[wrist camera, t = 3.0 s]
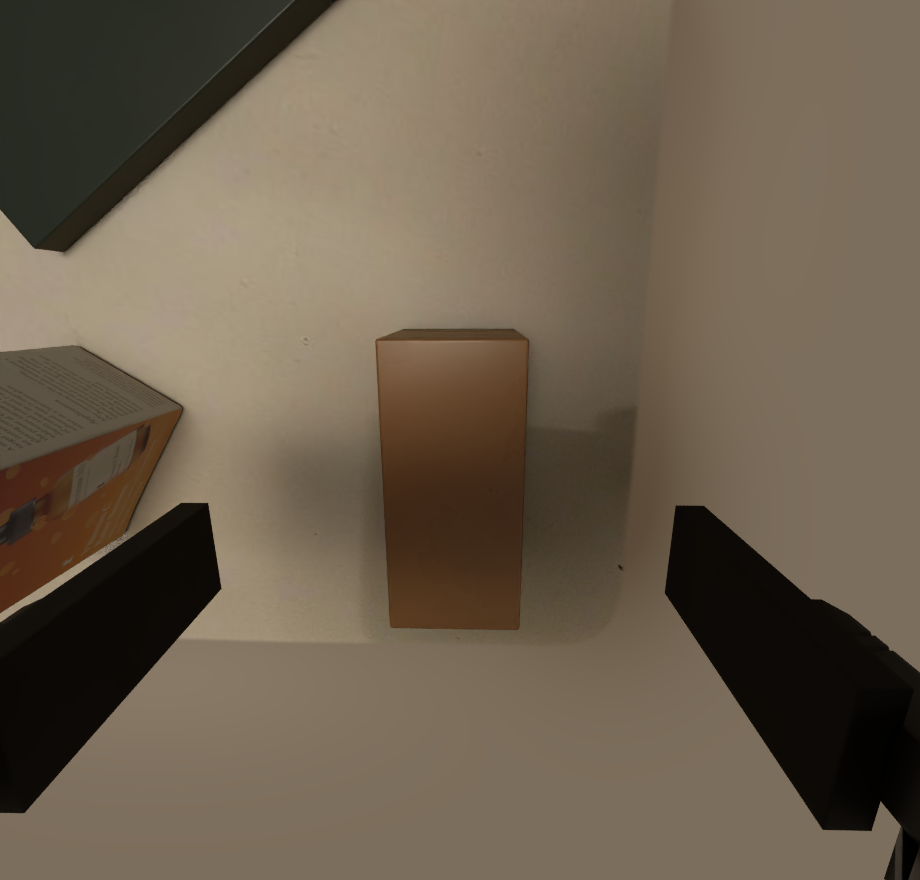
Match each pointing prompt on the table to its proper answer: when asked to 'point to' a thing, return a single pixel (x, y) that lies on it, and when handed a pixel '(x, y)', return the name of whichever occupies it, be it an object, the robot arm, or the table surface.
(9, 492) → the small box
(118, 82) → the chalkboard
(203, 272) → the table surface
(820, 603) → the robot arm
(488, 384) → the brown rectangular block
